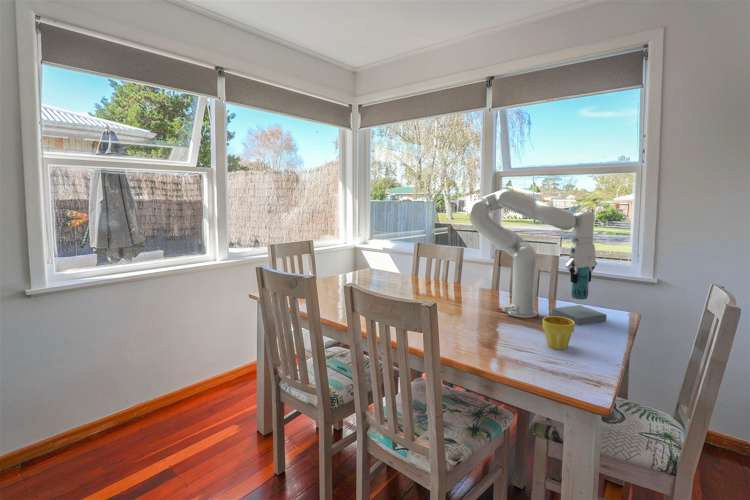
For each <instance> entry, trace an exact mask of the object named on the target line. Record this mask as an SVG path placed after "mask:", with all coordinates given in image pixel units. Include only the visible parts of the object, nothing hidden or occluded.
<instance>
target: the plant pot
mask: <svg viewBox="0 0 750 500" xmlns="http://www.w3.org/2000/svg"><path fill="white" fill-rule="evenodd" d="M575 326H576V325H575V323H574V321H573V320H571V319H568V318H565V317H559V316H554V315H550V316H545V317H543V318H542V329H543V330H544V335H545V340H546V345H547V347H549V348H550V349H553V350H557V351H558V350H561V351H563V350H566V349H567V348H568V346H569V343H570V340H571V337H572V334H573V333H574V332H575Z"/></svg>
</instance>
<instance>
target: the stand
mask: <svg viewBox="0 0 750 500" xmlns="http://www.w3.org/2000/svg"><path fill="white" fill-rule="evenodd" d="M607 315H608V314H606V313H604V312H601V311H598V310H595V309H593V308H590V307H586V306H583V305H581V304H578V305H577V304H576V305H569V306H568V305H567V306H562V307H561V306H560V307H554V308H552V309H551V316H559V317H565V318H568V319H571V320H573V321H574V323H575V326H584V325H589V324H595V323H596V324H597V323H602V322H603V323H604V322H607Z"/></svg>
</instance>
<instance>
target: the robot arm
mask: <svg viewBox="0 0 750 500" xmlns="http://www.w3.org/2000/svg"><path fill="white" fill-rule="evenodd" d="M503 209H506V210H508V211H512V212H514V213H517V214H519V215H521V216H524V217H526V218H529V219H532V220H536V221H538V222H541V223H544V224H547V225H549V226H552V227H555V228H557V229H560V230H562V231H569V230H571V229H573V231H572V232H573V234H572V237H573V238H572V239H571V242H572V244H571V245H570V246H571V247H570V251H569V259H568V260H569V261H568V262H566V264H565V267H566V269H567V270H568V272H569V273H570V283H572V282H573V283H577V278H578V274H576V273H577V271H578V268H584V267H586V266H588V267H590V268H589V283H591V281H592V273H593V272H594V271H593V270H595V268H596V266H597V265H598V262H597V261H596V248H595V247H596V246H595V244H594V226H595V225H594V224H595V214H594V212H592V211H577V212H574V211H565V210H563V209H560V208H557V207H556V206H553V205H550V204H547V203H546V202H544V201H542V200H540V199H537V198H535V197H532V196H530V195H526V194H523V193H522V192H519V191H516V190H513V189H511V188H507V187H506V188H502V189H500V190H498V191H494V192H493V193H490V194H487V195H484V196H482V197H479V198H477V199H475V200H474V201H473V202H472V203H471V206H470V208H469V213H468V214H469V221H470V224H471V226H472V227H473V228H474V229H475V231H477V233H479V234H480V235H481V236H482V237H484V238H485V239H486V240H487V241H489V242H490V243H491V244H492V245H493V246H495V247H496V248H497V249H498V250H499V251H503V252H505V253H507V254H508V255H509V256H511V258H512V286H511V287H512V288H511V303H509V305H508V306H502V309H501V310H502V311H503V312H507V313H508V314H509V315H510V316H512V317H514V318H515V317H517V318H523V319H531V318H535V317H537V316H538V312H537V311H536V310H535V290H536V268H537V252H536V251H535V249H534V247H533V245H531V244H530V243H529V242H528V241H526V240H524V239H523V238H522V237H521V236H519V235H518V234H517V233H515V232H514V231H513V230H511V229H510V228H505V227H504V226H502V225H501V224H499V223H498V222H497V221H496V220H494V219H493V218H492V217H491V216H490V214H492V213H494V212H497V211H500V210H503ZM574 268H575V270H574Z"/></svg>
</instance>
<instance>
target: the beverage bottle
mask: <svg viewBox="0 0 750 500" xmlns="http://www.w3.org/2000/svg"><path fill="white" fill-rule="evenodd" d="M589 268H590V267H588V266H586V267H584V268H578V271H577V273H576V274H578V278H577V283H573V282H571V292H570V293H571V298H572V299H575V300H587V299H588V298H589V284H590V282H589ZM574 270H575V268H574Z"/></svg>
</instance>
